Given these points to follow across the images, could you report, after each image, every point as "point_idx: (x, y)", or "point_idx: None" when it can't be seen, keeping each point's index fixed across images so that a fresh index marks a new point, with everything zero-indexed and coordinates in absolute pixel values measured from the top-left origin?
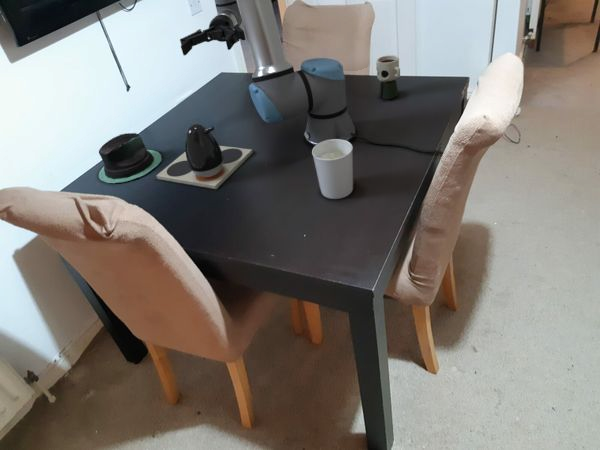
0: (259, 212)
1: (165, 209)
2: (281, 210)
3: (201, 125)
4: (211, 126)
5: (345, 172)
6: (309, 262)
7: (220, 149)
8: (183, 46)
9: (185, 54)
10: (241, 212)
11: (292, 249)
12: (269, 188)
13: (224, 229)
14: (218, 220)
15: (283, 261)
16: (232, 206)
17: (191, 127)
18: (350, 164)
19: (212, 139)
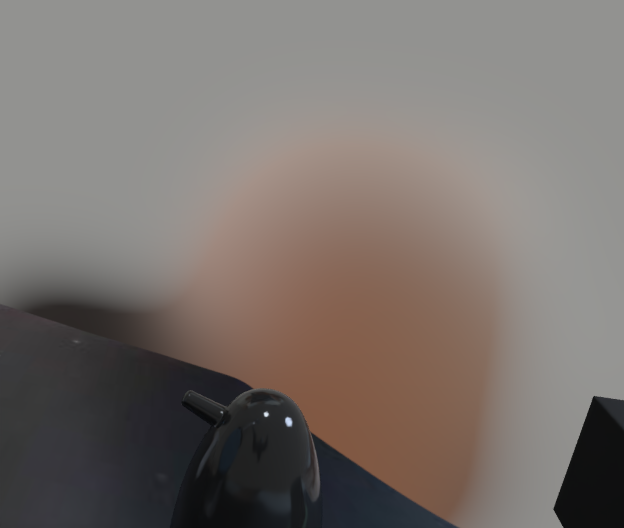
0: (76, 420)
1: (346, 479)
2: (17, 414)
3: (238, 404)
4: (191, 391)
5: None
6: (16, 322)
7: (175, 511)
8: (592, 410)
9: (559, 500)
10: (124, 429)
11: (35, 342)
12: (18, 490)
13: (169, 398)
14: (185, 420)
15: (60, 331)
16: (148, 450)
17: (276, 391)
18: None
19: (198, 447)
